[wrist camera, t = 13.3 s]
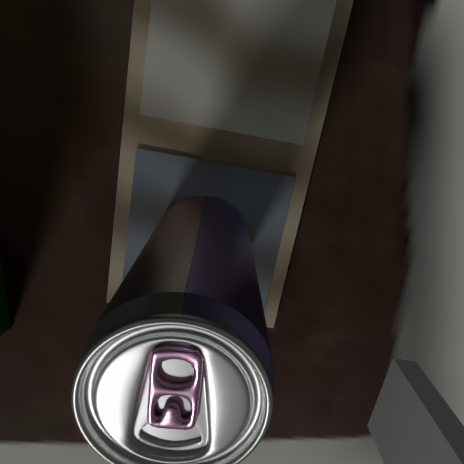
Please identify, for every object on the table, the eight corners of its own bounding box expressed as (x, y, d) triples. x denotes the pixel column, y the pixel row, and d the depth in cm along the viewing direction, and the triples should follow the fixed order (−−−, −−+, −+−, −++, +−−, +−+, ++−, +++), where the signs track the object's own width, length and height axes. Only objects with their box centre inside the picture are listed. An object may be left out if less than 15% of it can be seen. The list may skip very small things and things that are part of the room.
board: (149, -97, 20) (143, -113, 19) (360, -49, 21) (369, -61, 20) (111, 294, 27) (105, 304, 26) (271, 319, 28) (273, 330, 27)
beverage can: (254, 198, 24) (296, 324, 10) (243, 283, 26) (263, 496, 11) (161, 188, 24) (60, 301, 9) (155, 274, 25) (64, 481, 11)
